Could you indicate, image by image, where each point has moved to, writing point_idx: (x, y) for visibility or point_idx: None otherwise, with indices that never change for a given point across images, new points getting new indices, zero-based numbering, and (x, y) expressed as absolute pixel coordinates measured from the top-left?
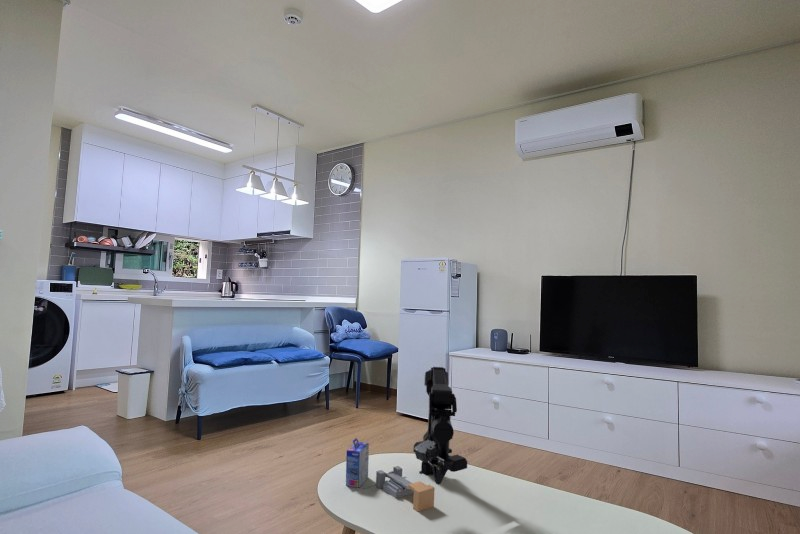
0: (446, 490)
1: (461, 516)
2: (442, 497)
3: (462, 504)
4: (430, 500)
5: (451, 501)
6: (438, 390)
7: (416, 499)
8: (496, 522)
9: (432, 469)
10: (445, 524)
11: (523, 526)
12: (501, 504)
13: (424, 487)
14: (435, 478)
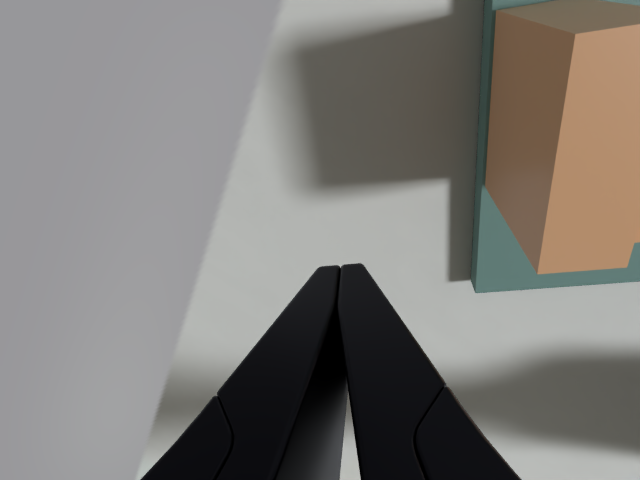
0: (617, 366)
1: None
2: (571, 308)
3: (433, 347)
4: (504, 176)
5: (497, 322)
6: None
7: (571, 14)
8: (216, 370)
9: (476, 446)
10: (280, 143)
11: (161, 422)
12: (343, 456)
13: (621, 182)
14: (359, 308)
